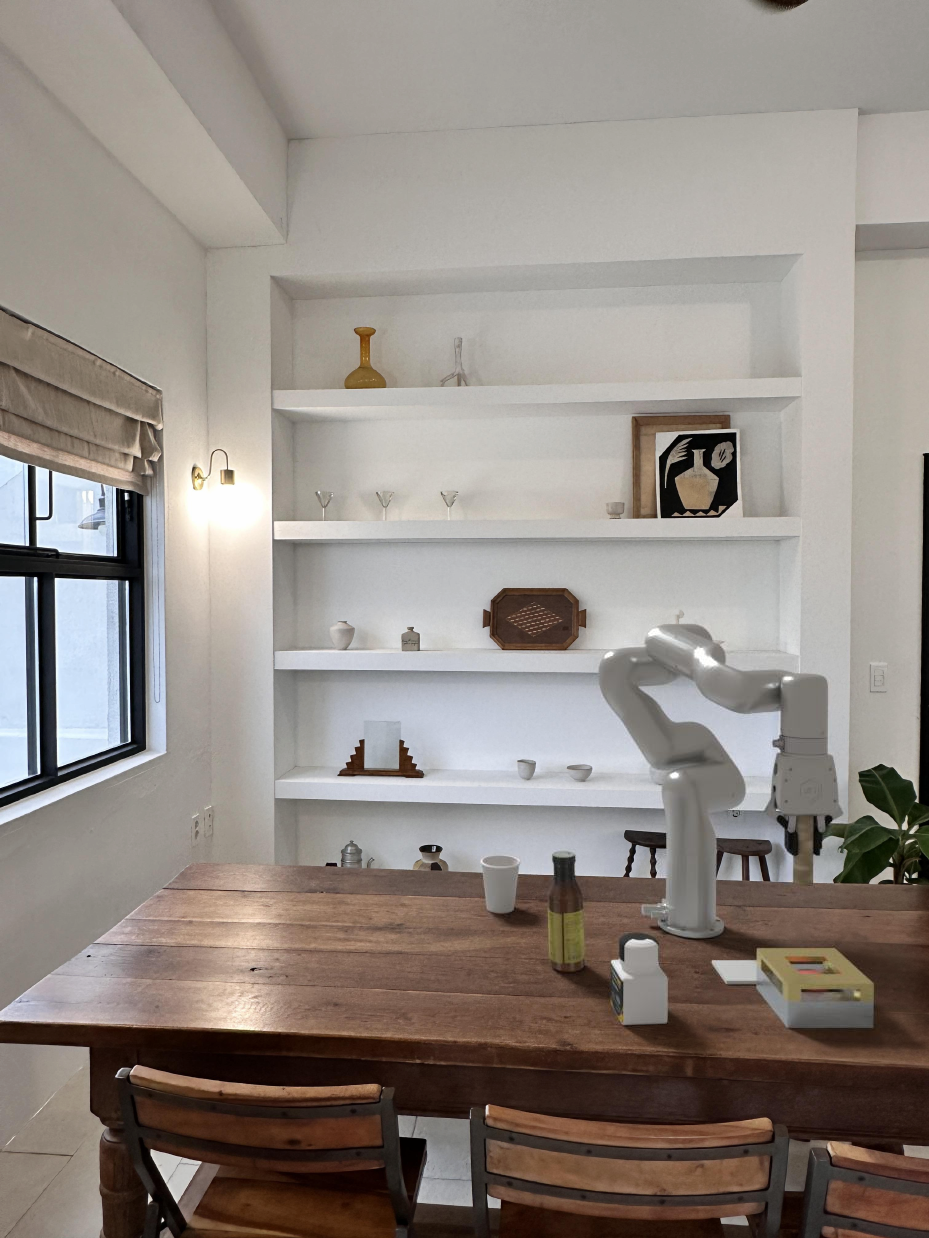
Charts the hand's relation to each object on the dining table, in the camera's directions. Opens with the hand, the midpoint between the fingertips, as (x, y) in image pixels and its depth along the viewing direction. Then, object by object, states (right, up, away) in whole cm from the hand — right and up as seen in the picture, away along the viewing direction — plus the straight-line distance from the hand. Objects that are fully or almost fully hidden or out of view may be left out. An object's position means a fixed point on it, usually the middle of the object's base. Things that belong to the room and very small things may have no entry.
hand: (803, 852), depth 144 cm
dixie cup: (-50, -21, +32) cm, 63 cm away
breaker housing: (-3, -22, -11) cm, 24 cm away
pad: (-10, -21, +1) cm, 23 cm away
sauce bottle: (-40, -21, +4) cm, 45 cm away
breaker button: (-3, -19, -11) cm, 22 cm away
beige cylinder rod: (0, -5, 0) cm, 5 cm away
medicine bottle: (-31, -22, -13) cm, 40 cm away
